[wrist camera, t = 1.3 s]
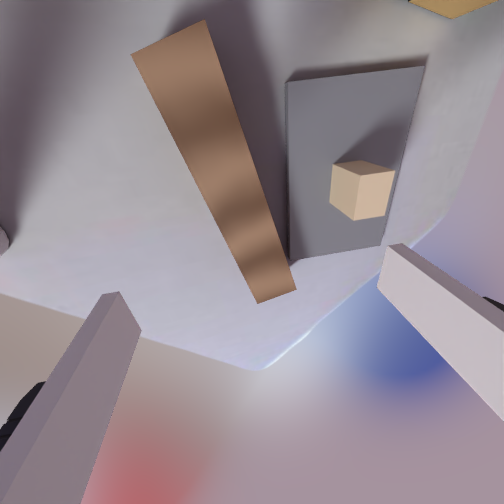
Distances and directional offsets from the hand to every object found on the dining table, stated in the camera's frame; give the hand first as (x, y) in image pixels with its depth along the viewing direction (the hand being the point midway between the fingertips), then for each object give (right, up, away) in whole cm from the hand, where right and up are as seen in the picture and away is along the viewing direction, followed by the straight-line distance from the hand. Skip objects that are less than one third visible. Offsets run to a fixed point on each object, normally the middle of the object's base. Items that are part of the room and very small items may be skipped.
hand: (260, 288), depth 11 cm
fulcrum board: (+9, +10, +13) cm, 19 cm away
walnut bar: (-2, +8, +13) cm, 15 cm away
